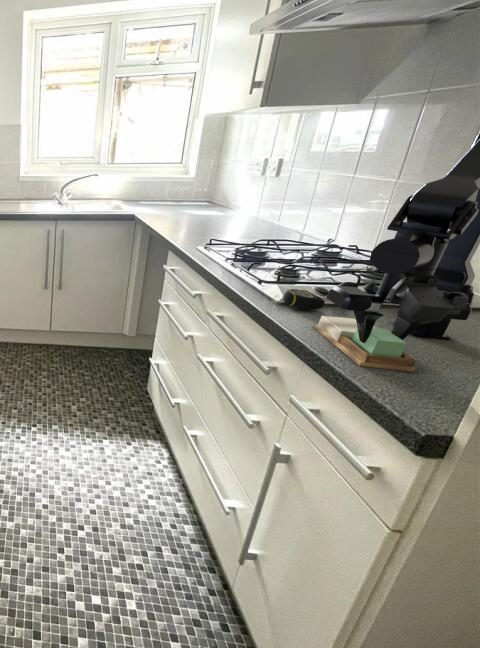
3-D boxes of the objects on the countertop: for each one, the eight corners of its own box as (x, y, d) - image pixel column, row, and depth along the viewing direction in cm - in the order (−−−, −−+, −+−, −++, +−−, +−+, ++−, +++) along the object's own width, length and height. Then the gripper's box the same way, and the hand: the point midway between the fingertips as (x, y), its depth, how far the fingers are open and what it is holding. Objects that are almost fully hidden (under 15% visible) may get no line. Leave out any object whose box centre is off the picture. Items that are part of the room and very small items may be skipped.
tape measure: (322, 313, 98) (328, 298, 97) (292, 312, 99) (298, 297, 97) (303, 302, 105) (308, 288, 103) (275, 301, 105) (279, 287, 104)
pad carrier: (314, 328, 91) (319, 315, 90) (359, 332, 89) (365, 319, 88) (359, 365, 77) (366, 350, 75) (414, 371, 75) (421, 356, 74)
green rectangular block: (351, 339, 82) (357, 326, 81) (378, 342, 81) (385, 328, 80) (371, 354, 77) (377, 340, 76) (400, 357, 76) (407, 343, 75)
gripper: (379, 275, 67) (344, 358, 73) (524, 285, 63) (473, 372, 69) (340, 255, 77) (312, 330, 83) (463, 263, 73) (424, 341, 79)
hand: (376, 343), depth 79 cm, fingers closed on green rectangular block, 4 cm apart
